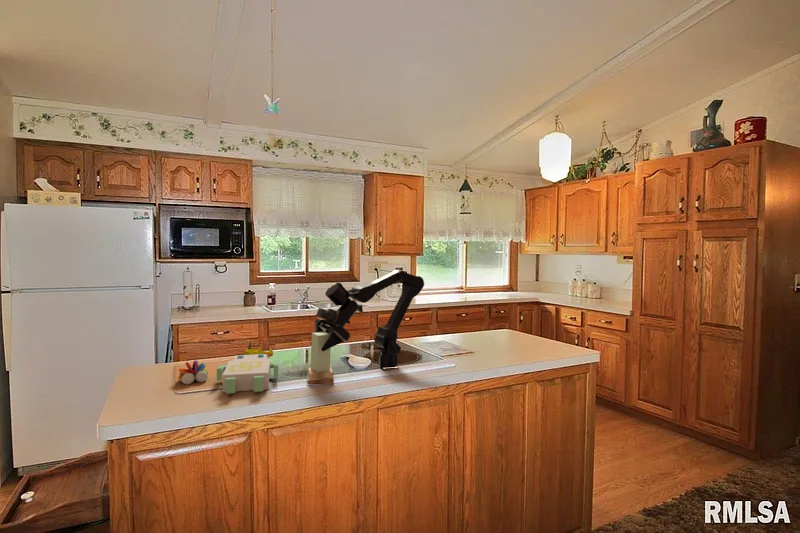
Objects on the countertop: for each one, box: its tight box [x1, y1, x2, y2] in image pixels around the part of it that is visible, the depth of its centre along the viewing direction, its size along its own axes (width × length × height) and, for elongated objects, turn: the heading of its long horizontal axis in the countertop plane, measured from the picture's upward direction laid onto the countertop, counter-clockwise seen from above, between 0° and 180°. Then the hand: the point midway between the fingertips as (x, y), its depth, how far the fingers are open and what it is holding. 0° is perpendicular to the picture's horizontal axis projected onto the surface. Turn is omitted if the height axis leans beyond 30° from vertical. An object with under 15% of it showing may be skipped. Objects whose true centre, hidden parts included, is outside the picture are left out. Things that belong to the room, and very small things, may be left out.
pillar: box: [310, 332, 332, 372], centre depth 154 cm, size 5×5×13 cm
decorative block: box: [216, 354, 280, 395], centre depth 151 cm, size 26×6×20 cm
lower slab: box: [306, 373, 335, 386], centre depth 155 cm, size 9×9×2 cm
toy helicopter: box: [243, 342, 274, 359], centre depth 169 cm, size 6×18×10 cm, turn 155°
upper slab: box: [307, 366, 335, 380], centre depth 155 cm, size 8×8×2 cm
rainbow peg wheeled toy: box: [177, 359, 209, 385], centre depth 153 cm, size 8×10×7 cm
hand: (316, 347), depth 153 cm, fingers open, 9 cm apart
